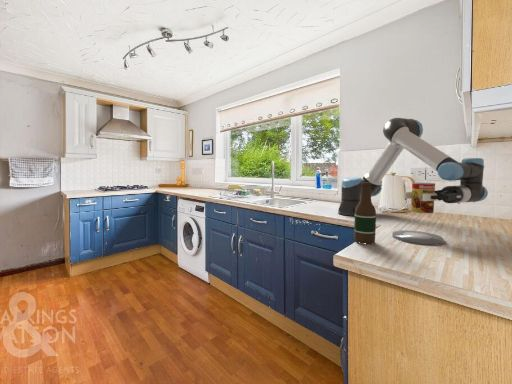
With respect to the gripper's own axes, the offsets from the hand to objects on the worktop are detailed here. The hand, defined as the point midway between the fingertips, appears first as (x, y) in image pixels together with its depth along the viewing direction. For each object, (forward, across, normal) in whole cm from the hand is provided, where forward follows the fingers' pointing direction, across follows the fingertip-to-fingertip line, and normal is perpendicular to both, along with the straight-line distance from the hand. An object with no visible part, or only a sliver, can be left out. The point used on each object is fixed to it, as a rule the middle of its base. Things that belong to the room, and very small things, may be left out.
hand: (413, 196), depth 102 cm
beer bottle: (+21, +2, -18) cm, 28 cm away
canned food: (-5, 0, -7) cm, 8 cm away
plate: (-3, 0, -18) cm, 18 cm away
